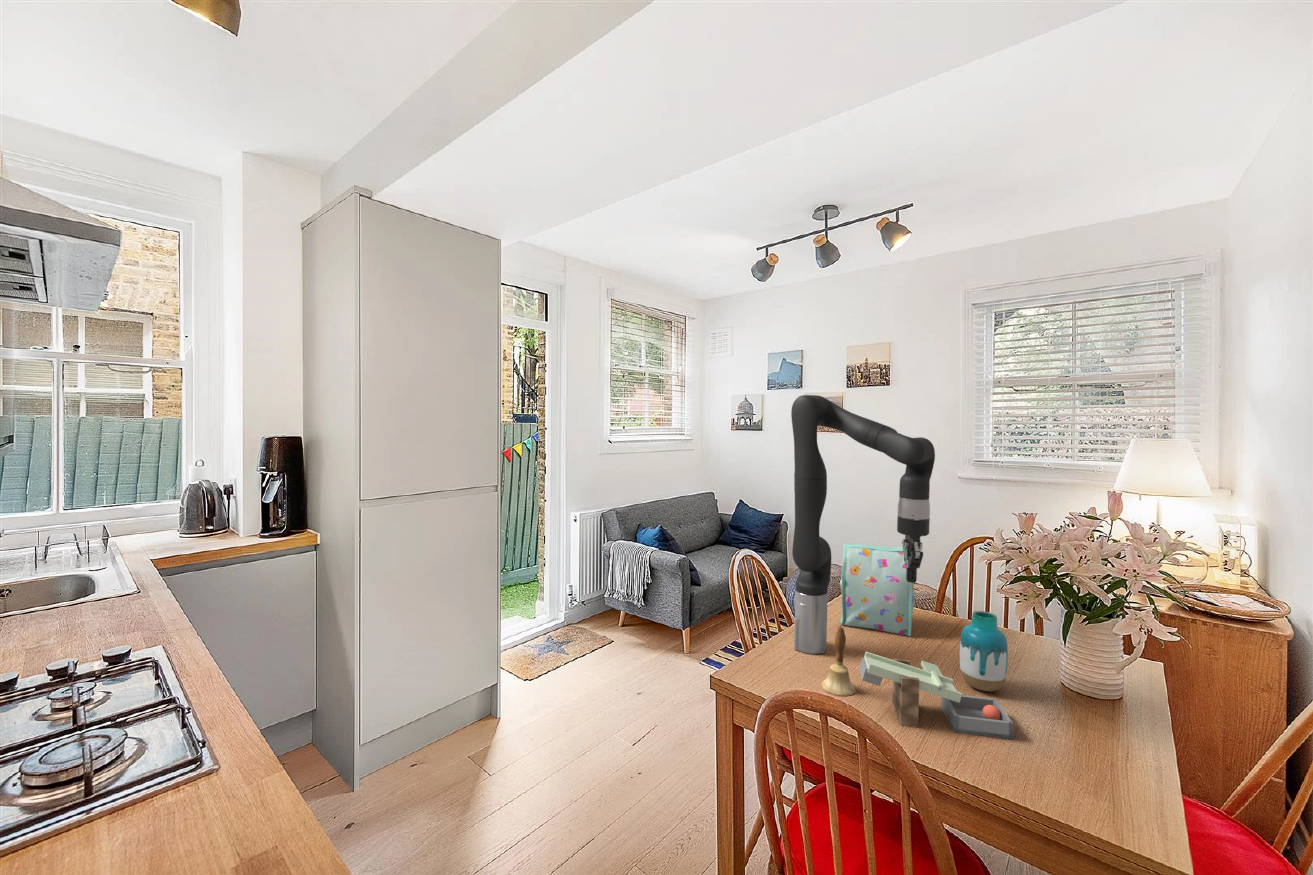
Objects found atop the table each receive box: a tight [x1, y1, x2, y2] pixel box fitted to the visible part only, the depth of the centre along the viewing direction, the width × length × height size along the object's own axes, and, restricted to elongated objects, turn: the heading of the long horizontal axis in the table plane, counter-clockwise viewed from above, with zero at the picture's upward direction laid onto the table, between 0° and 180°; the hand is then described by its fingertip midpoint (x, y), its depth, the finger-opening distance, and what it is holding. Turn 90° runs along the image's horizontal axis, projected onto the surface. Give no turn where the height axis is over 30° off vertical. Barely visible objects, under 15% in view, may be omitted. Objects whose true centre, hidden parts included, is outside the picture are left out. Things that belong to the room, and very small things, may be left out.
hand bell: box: [821, 626, 856, 697], centre depth 141 cm, size 8×8×16 cm
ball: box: [983, 705, 1001, 720], centre depth 125 cm, size 4×4×4 cm
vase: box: [959, 610, 1009, 692], centre depth 141 cm, size 11×11×19 cm
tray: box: [940, 694, 1015, 740], centre depth 126 cm, size 12×11×4 cm
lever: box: [858, 651, 963, 703], centre depth 133 cm, size 20×16×5 cm
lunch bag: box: [839, 543, 916, 637], centre depth 183 cm, size 23×16×27 cm
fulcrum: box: [891, 658, 920, 728], centre depth 129 cm, size 4×10×11 cm, turn 167°
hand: (911, 581), depth 143 cm, fingers closed
